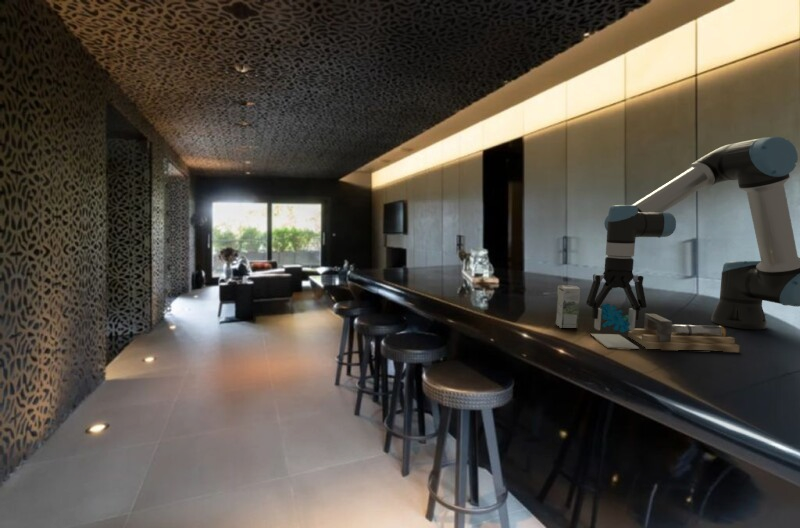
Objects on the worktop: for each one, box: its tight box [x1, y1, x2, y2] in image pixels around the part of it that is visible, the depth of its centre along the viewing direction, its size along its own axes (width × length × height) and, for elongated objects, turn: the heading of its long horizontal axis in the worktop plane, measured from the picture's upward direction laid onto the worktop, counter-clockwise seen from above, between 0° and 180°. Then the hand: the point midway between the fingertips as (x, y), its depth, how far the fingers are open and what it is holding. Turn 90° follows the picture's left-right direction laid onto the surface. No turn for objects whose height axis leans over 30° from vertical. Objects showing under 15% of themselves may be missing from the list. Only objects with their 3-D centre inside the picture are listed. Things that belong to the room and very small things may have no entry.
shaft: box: [671, 324, 727, 337], centre depth 120 cm, size 15×4×4 cm, turn 85°
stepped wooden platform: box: [627, 313, 741, 353], centre depth 121 cm, size 25×12×8 cm, turn 85°
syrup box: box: [555, 285, 581, 329], centre depth 139 cm, size 6×6×14 cm
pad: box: [590, 333, 640, 350], centre depth 123 cm, size 9×13×1 cm
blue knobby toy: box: [600, 303, 630, 333], centre depth 124 cm, size 11×6×10 cm
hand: (614, 329), depth 123 cm, fingers closed on blue knobby toy, 9 cm apart
